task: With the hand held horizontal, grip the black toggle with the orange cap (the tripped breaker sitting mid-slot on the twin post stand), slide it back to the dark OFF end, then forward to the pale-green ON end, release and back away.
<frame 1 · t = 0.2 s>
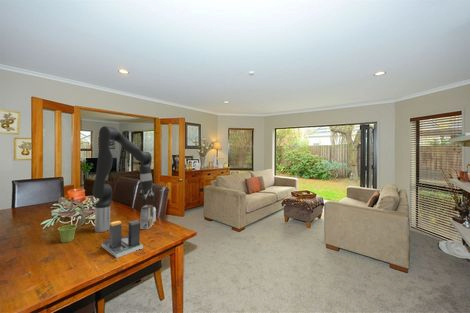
hand: (148, 202, 143), 22 cm above the table, tool pointing down, fingers open, 8 cm apart
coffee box: (146, 227, 157), on the table
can: (150, 222, 169), on the table
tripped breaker: (115, 234, 120), point 9 cm above the table, slide at 6.0 cm
plant pot: (67, 241, 131), on the table
twin post stand: (122, 247, 124), on the table
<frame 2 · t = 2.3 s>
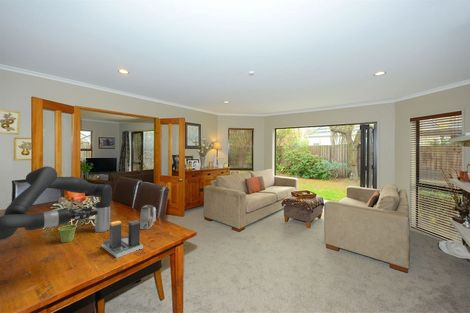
hand: (94, 210, 111), 26 cm above the table, tool horizontal, fingers open, 8 cm apart
nothing on the table moved.
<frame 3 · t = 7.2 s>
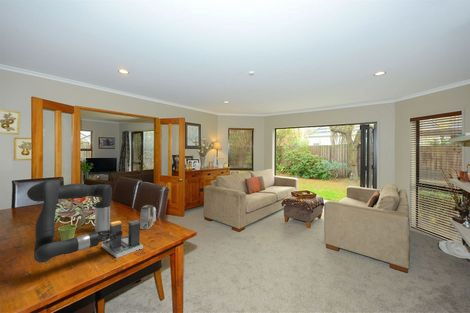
hand: (120, 231, 123), 10 cm above the table, tool horizontal, fingers closed on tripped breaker, 3 cm apart
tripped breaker: (115, 234, 120), point 9 cm above the table, slide at 6.0 cm, touching gripper
everything else where it was.
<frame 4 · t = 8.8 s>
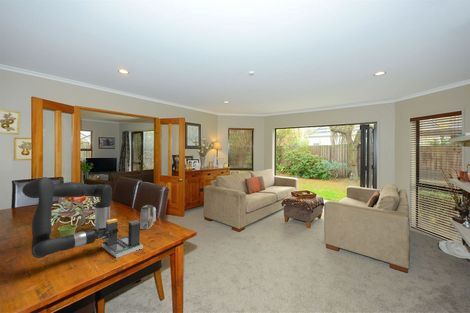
hand: (116, 229, 126), 10 cm above the table, tool horizontal, fingers closed on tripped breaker, 3 cm apart
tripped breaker: (111, 231, 124), point 9 cm above the table, slide at 0.6 cm, touching gripper
everything else where it was.
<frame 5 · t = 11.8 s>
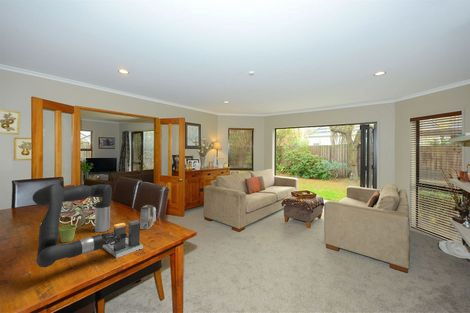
hand: (124, 234, 119), 10 cm above the table, tool horizontal, fingers closed on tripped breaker, 3 cm apart
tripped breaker: (119, 236, 117), point 9 cm above the table, slide at 11.4 cm, touching gripper
everything else where it was.
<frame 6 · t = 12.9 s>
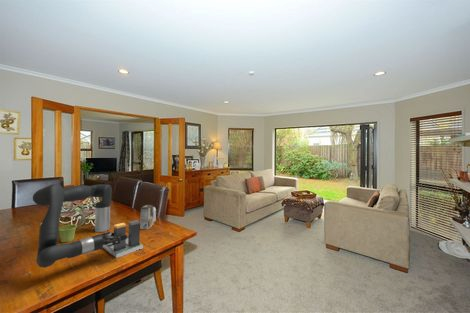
hand: (123, 234, 119), 10 cm above the table, tool horizontal, fingers open, 8 cm apart
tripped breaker: (119, 236, 117), point 9 cm above the table, slide at 11.5 cm
everything else where it was.
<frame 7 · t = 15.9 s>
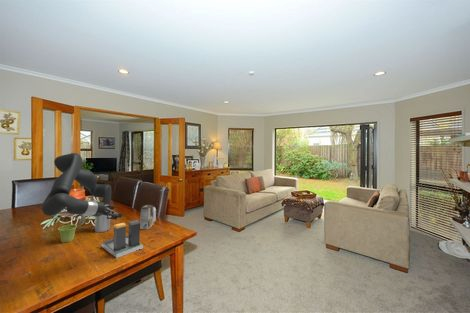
hand: (117, 211, 119), 23 cm above the table, tool tilted 70°, fingers open, 8 cm apart
nothing on the table moved.
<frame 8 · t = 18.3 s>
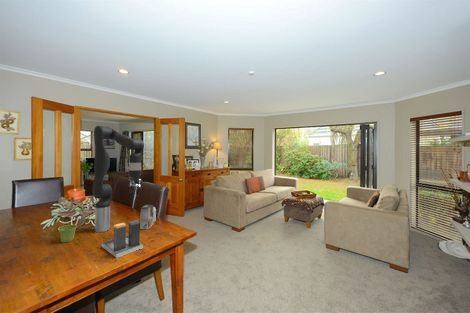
hand: (134, 193, 137), 30 cm above the table, tool pointing down, fingers open, 8 cm apart
nothing on the table moved.
at the end: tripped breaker slide at 11.5 cm; the gripper is holding nothing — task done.
